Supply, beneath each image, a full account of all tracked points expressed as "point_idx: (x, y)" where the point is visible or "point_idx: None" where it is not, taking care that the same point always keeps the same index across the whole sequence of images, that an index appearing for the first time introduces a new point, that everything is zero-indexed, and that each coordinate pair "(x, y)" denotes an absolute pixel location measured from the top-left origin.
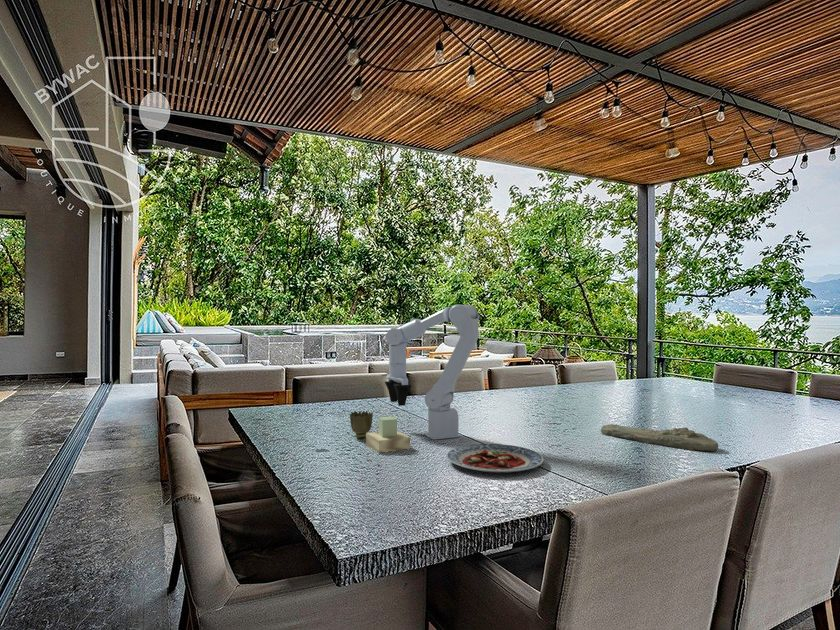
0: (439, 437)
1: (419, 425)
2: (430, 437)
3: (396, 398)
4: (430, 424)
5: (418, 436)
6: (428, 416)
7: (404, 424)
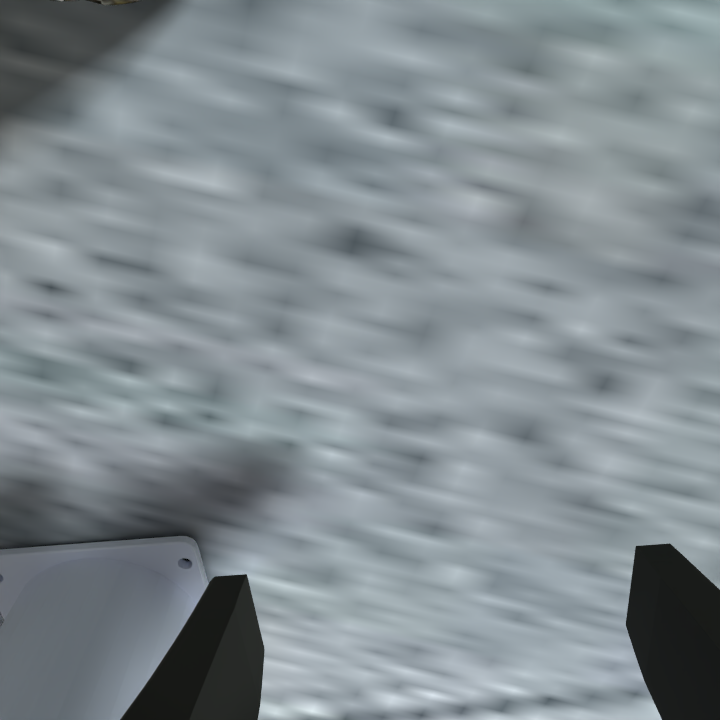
0: (3, 604)
1: (570, 589)
2: (33, 550)
3: (650, 671)
4: (16, 650)
5: (144, 481)
6: (40, 716)
7: (680, 492)
